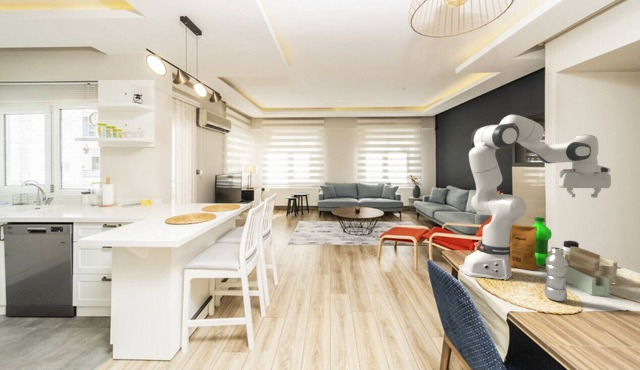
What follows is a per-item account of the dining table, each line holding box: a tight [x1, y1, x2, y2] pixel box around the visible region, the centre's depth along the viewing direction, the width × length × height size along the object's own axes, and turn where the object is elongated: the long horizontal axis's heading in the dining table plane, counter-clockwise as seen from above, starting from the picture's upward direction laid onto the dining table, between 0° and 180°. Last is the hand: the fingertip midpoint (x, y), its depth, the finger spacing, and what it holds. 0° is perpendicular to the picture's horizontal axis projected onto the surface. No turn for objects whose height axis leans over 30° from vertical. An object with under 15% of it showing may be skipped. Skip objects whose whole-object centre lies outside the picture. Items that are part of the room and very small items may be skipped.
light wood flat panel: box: [570, 247, 601, 285], centre depth 114 cm, size 2×12×15 cm, turn 171°
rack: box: [563, 253, 618, 284], centre depth 126 cm, size 10×18×10 cm, turn 171°
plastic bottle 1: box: [531, 216, 552, 266], centre depth 144 cm, size 10×10×25 cm
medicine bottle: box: [560, 239, 580, 254], centre depth 145 cm, size 7×7×12 cm
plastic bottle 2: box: [543, 246, 568, 302], centre depth 103 cm, size 6×7×20 cm
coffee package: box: [509, 223, 537, 271], centre depth 139 cm, size 10×12×22 cm
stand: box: [565, 266, 611, 297], centre depth 115 cm, size 6×17×7 cm, turn 171°
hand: (583, 197), depth 130 cm, fingers open, 8 cm apart
